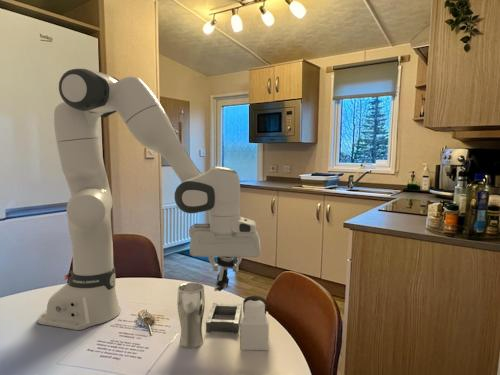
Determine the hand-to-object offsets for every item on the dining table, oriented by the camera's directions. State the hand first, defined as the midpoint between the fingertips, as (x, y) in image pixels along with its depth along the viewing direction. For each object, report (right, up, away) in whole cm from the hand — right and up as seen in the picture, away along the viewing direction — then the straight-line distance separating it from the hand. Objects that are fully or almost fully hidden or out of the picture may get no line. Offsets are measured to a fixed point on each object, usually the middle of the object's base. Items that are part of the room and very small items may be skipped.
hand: (225, 270), depth 97 cm
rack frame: (0, -16, +2) cm, 16 cm away
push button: (-2, -6, +1) cm, 6 cm away
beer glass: (-8, -17, -9) cm, 21 cm away
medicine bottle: (+8, -17, -9) cm, 21 cm away
